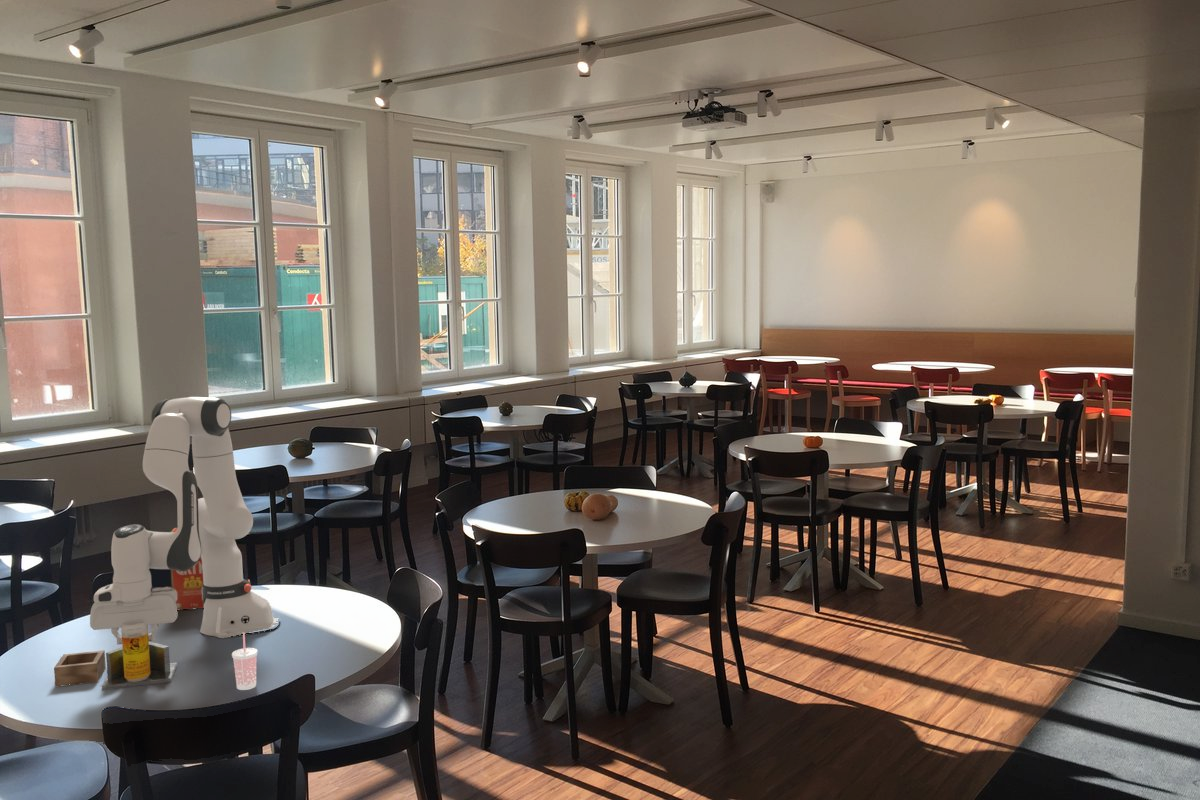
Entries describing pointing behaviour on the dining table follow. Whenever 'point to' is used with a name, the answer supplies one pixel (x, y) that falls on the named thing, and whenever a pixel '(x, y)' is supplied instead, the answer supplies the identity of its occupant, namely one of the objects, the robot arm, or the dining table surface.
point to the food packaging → (188, 586)
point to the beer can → (135, 651)
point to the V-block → (158, 667)
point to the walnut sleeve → (80, 668)
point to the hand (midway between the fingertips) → (136, 642)
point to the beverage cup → (245, 667)
